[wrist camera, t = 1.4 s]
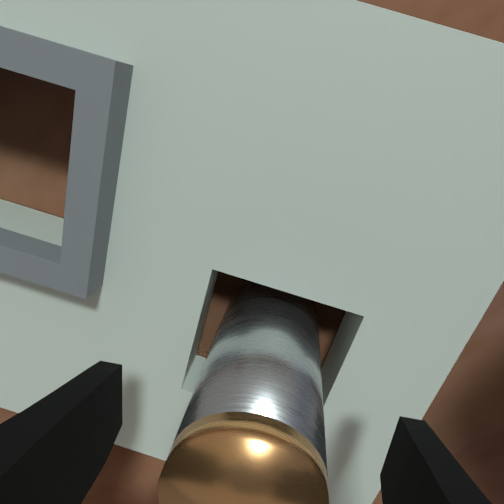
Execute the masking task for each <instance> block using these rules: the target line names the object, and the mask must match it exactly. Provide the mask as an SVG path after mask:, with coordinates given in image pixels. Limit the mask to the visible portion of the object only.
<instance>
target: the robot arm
mask: <svg viewBox="0 0 504 504" xmlns="http://www.w3.org/2000/svg"><path fill="white" fill-rule="evenodd" d="M121 426H122V365H121V364H116V363H110V362H105V361H99V362H97V363H96V364H94V365H92V366H91V367H89V368H88V369H86V370H85V371H83V372H82V373H80V374H79V375H77V376H76V377H74V378H73V379H71V380H70V381H68V382H67V383H65V384H64V385H62V386H61V387H59V388H58V389H56V390H55V391H53V392H52V393H50V394H48V395H47V396H45V397H44V398H42V399H41V400H39V401H37V402H36V403H34V404H33V405H31V406H30V407H28V408H27V409H25V410H23V411H22V412H20V413H18V414H17V415H15V416H13V417H12V418H10V419H8V420H7V421H5V422H3V423H1V424H0V504H81V503H82V501H83V499H84V498H85V496H86V494H87V493H88V491H89V489H90V488H91V486H92V484H93V483H94V481H95V479H96V477H97V476H98V474H99V472H100V471H101V469H102V467H103V465H104V464H105V462H106V460H107V457H108V455H109V453H110V451H111V449H112V447H113V445H114V442H115V440H116V438H117V436H118V433H119V431H120V429H121ZM380 482H381V491H382V501H383V504H491V503H490V501H489V500H488V499H487V498H486V497H485V495H484V494H483V493H482V492H481V491H480V489H479V488H478V487H477V486H476V484H475V483H474V482H473V481H472V479H471V478H470V477H469V476H468V475H467V473H466V472H465V471H464V470H463V468H462V467H461V466H460V464H459V463H458V462H457V461H456V459H455V458H454V457H453V456H452V454H451V453H450V452H449V451H448V449H447V448H446V447H445V445H444V444H443V443H442V442H441V440H440V439H439V438H438V437H437V435H436V434H435V433H434V432H433V430H432V429H431V428H430V427H429V425H428V424H427V423H426V422H425V421H423V420H418V419H413V418H407V417H402V416H400V417H399V420H398V423H397V426H396V429H395V432H394V434H393V437H392V440H391V443H390V446H389V449H388V452H387V455H386V458H385V461H384V464H383V467H382V470H381V473H380Z"/></svg>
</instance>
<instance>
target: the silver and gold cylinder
mask: <svg viewBox="0 0 504 504" xmlns="http://www.w3.org/2000/svg"><path fill="white" fill-rule="evenodd" d="M158 499H159V504H329V491H328V474H327V458H326V442H325V425H324V409H323V393H322V376H321V360H320V344H319V327H318V317H317V313H316V310H315V308H314V306H313V304H312V303H311V301H310V300H309V299H306V298H303V297H300V296H297V295H293V294H290V293H287V292H284V291H281V290H277V289H274V288H271V287H268V286H265V285H261V284H258V283H252V284H249V285H247V286H245V287H243V288H242V289H241V290H239V291H238V292H237V293H236V294H235V295H234V296H233V297H232V299H231V300H230V302H229V304H228V306H227V309H226V311H225V314H224V316H223V319H222V321H221V324H220V326H219V329H218V331H217V334H216V336H215V339H214V341H213V344H212V346H211V349H210V351H209V354H208V356H207V359H206V361H205V364H204V366H203V369H202V372H201V374H200V377H199V379H198V382H197V384H196V387H195V389H194V392H193V394H192V397H191V399H190V402H189V404H188V407H187V409H186V412H185V414H184V417H183V419H182V422H181V424H180V427H179V429H178V432H177V434H176V437H175V440H174V442H173V445H172V447H171V450H170V452H169V455H168V457H167V460H166V462H165V465H164V467H163V470H162V472H161V475H160V478H159V482H158Z"/></svg>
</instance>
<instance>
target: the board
mask: <svg viewBox="0 0 504 504" xmlns="http://www.w3.org/2000/svg"><path fill="white" fill-rule="evenodd" d="M0 67H1V68H4V69H7V70H10V71H14V72H17V73H20V74H24V75H27V76H30V77H34V78H37V79H40V80H44V81H47V82H50V83H54V84H57V85H60V86H63V87H67V88H70V89H73V90H76V91H75V102H74V113H73V124H72V135H71V147H70V158H69V169H68V180H67V191H66V202H65V213H64V219H63V218H60V217H57V216H54V215H50V214H47V213H44V212H41V211H38V210H34V209H31V208H28V207H25V206H21V205H18V204H15V203H12V202H9V201H5V200H2V199H0V407H1V408H4V409H8V410H11V411H14V412H17V413H20V412H22V411H23V410H25V409H27V408H28V407H30V406H31V405H33V404H34V403H36V402H37V401H39V400H41V399H42V398H44V397H45V396H47V395H48V394H50V393H52V392H53V391H55V390H56V389H58V388H59V387H61V386H62V385H64V384H65V383H67V382H68V381H70V380H71V379H73V378H74V377H76V376H77V375H79V374H80V373H82V372H83V371H85V370H86V369H88V368H89V367H91V366H92V365H94V364H96V363H97V362H99V361H105V362H110V363H116V364H121V365H122V426H121V429H120V431H119V433H118V436H117V438H116V440H115V442H114V444H115V445H119V446H122V447H125V448H128V449H131V450H134V451H137V452H140V453H143V454H146V455H149V456H152V457H156V458H159V459H162V460H165V461H166V460H167V457H168V455H169V452H170V450H171V447H172V445H173V442H174V440H175V437H176V434H177V432H178V429H179V427H180V424H181V422H182V419H183V417H184V414H185V412H186V409H187V407H188V404H189V402H190V399H191V397H192V394H193V392H194V389H195V387H196V384H197V382H198V379H199V377H200V374H201V372H202V369H203V366H204V364H205V361H206V359H207V358H205V357H201V356H198V355H196V354H197V350H198V346H199V343H200V339H201V335H202V331H203V328H204V324H205V320H206V317H207V313H208V309H209V305H210V302H211V298H212V294H213V290H214V287H215V283H216V279H217V275H218V272H219V271H220V272H223V273H226V274H229V275H232V276H236V277H239V278H242V279H245V280H248V281H252V282H255V283H258V284H261V285H265V286H268V287H271V288H274V289H277V290H281V291H284V292H287V293H290V294H293V295H297V296H300V297H303V298H306V299H310V300H313V301H316V302H319V303H322V304H326V305H329V306H332V307H335V308H339V309H342V310H345V311H346V312H345V314H344V317H343V319H342V321H341V324H340V326H339V328H338V331H337V333H336V335H335V338H334V340H333V342H332V345H331V347H330V349H329V352H328V354H327V356H326V359H325V361H324V363H323V366H322V368H321V376H322V393H323V409H324V425H325V442H326V458H327V474H328V491H329V504H372V502H373V501H374V499H375V497H376V496H377V494H378V492H379V491H380V489H381V482H380V473H381V470H382V467H383V464H384V461H385V458H386V455H387V452H388V449H389V446H390V443H391V440H392V437H393V434H394V432H395V429H396V426H397V423H398V420H399V417H400V416H402V417H407V418H413V419H418V420H422V418H423V416H424V414H425V413H426V411H427V409H428V408H429V406H430V404H431V403H432V401H433V399H434V398H435V396H436V394H437V392H438V391H439V389H440V387H441V386H442V384H443V382H444V381H445V379H446V377H447V376H448V374H449V372H450V371H451V369H452V367H453V365H454V364H455V362H456V360H457V359H458V357H459V355H460V354H461V352H462V350H463V349H464V347H465V345H466V343H467V342H468V340H469V338H470V337H471V335H472V333H473V332H474V330H475V328H476V327H477V325H478V323H479V321H480V320H481V318H482V316H483V315H484V313H485V311H486V310H487V308H488V306H489V305H490V303H491V301H492V300H493V298H494V296H495V294H496V293H497V291H498V289H499V288H500V286H501V284H502V283H503V281H504V43H501V42H498V41H494V40H491V39H487V38H484V37H481V36H477V35H474V34H470V33H467V32H463V31H460V30H456V29H453V28H450V27H446V26H443V25H439V24H436V23H432V22H429V21H426V20H422V19H419V18H415V17H412V16H408V15H405V14H401V13H398V12H395V11H391V10H388V9H384V8H381V7H377V6H374V5H370V4H367V3H364V2H360V1H357V0H0Z"/></svg>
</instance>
